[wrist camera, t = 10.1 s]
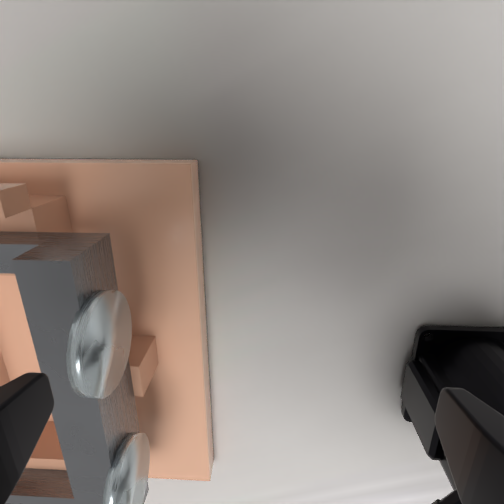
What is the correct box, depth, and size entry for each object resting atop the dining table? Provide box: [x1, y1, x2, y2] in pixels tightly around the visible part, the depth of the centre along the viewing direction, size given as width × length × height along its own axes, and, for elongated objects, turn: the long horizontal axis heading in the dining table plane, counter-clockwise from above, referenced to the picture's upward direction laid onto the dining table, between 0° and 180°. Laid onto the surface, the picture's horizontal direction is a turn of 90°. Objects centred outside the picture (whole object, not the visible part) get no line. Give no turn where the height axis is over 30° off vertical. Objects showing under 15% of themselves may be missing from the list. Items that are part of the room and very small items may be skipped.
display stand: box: [0, 159, 214, 481], centre depth 18 cm, size 16×20×6 cm
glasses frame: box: [0, 231, 150, 504], centre depth 15 cm, size 10×15×4 cm
